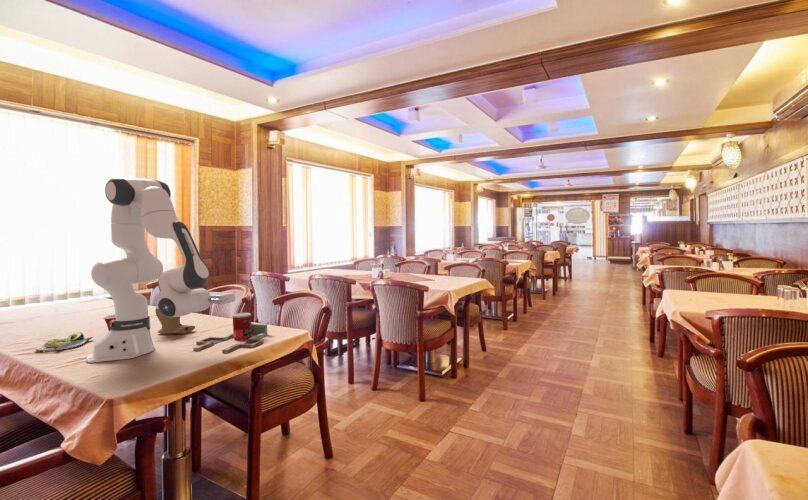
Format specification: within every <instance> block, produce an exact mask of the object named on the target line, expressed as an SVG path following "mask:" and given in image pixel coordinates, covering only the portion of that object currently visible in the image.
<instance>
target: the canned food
mask: <svg viewBox="0 0 808 500" xmlns="http://www.w3.org/2000/svg"><path fill="white" fill-rule="evenodd" d="M252 324H253V323H252V313H251V312H239V313H234V314H233V315H232V328H233V329H232V330H233V332H232V333H233V334H234V337H233V339H234V341H246V340H247V339H249V338H251V337H253V335H252Z"/></svg>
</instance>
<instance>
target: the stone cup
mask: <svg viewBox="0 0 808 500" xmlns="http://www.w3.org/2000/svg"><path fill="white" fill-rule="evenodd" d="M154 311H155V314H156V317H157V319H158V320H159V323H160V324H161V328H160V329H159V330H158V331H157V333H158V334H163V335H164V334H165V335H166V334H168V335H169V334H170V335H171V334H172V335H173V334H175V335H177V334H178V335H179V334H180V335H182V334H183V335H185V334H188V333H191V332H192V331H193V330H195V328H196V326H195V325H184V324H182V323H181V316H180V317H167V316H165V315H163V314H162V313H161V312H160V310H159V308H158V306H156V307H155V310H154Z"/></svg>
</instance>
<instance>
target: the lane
mask: <svg viewBox="0 0 808 500" xmlns="http://www.w3.org/2000/svg"><path fill="white" fill-rule="evenodd" d="M266 336H268V324H267V323H252V337H251V338H249V339H247V340H245V342H244V343H236V344H233V345H230V346H228V347H225V348H224V349H221V351H222V354H229V353H231V352H232V351H235V350H237V349H240V348H246V349H253V348H255V347H259V345H262V344H264V343H265V341H264V339H262V338H263V337H266ZM231 338H234V334H233V332H231V333H229V334H226V335H224V336H221V337H220V336H219V337H218V336H217V337H216V336H209V337H205V338H203V339H200V340H198V341H195V344H196V345H198V346H195V347H193V352H199V351H202V350H204V349H207V348H210V347H211V346H214V345H215V344H218V343H221V342H224V341H226V340H228V339H231Z"/></svg>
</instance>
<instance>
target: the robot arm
mask: <svg viewBox="0 0 808 500" xmlns="http://www.w3.org/2000/svg"><path fill="white" fill-rule="evenodd" d="M104 193H105V198H106V199H107V200H108V202H109V203H111V204H112V207H111V214H110V216H111V217H110V227H111V231H110V232H111V242H112V244H113V245H114V246H116V247H117V248H119V249H122V250H123V251H124V252H125V255H126V257H121V258H110V259H106V260H102V261H101V260H100V261H98V262H96V263H95V264H94V265H93V267H92V269H91V270H90V271H91V272H90V273H91V274H90V276H91V279H92V281H93V282H94V284H96V285H97V286H98V287H100V288H102V289H104V290H105V291H106V292H107V293H108V294H109V296H110V297H111V299H112V302H113V306H114V314H115V316H116V320H111V321H110V329H111V330H110V331H109V330H108V332H106V333H105V334H104V335H102V336H101V337H100V338H98V339H97V340H96V342H95V343H94V345H93V350H92V352H91V353H90V354H88V355H87V356H86V362H87V363H89V364H92V363H101V362H110V361H117V360H118V361H119V360H120V361H121V360H127V359H134V358H137V357H139V356H143V355H146V354H149V353H151V352H153V351H155V349H156V348H155V344H154V342H153V339H152V336H151V335H152V334H151V318H150V315H149V304H148V299H147V297H146V296H145V295H144V294H142V293H139V292H136V291H135V289H134V287H133V285H137V284H144V283H145V284H146V283H151V282H152V281H156V280H157V286H158V289H159V292H160V298H159V300H158V302H157V307H158V308H159V310H160V312H161V313H162V314H163V315H165V316H167V317H180V318H181V317H184V316H188V315H190V314H192V313H193V314H195V313H199V312H202V311H206V310H207V309H209V308H210V306H211V304H213V305H223V304H229V303H233V302H235V301H236V294H235V292H222V291H221V292H220V291H208V290H207V289H205V288H203V287H205V286H206V285H207V283H208V281H209V279H210V270H209V268H208V266H207V265H206V263H205V262H204V260H203V257H202V256H201V254H200V252H199V250H198V247H197V245H196V243H195V241H194V238H193V236H192V234H191V232H190V229H189V228H188V227H187V225H186V224H185V223H184V222H181V221H180V220H179V219H178V216H177V214H176V210H175V207H174V205H173V202H172V200H171V199H172V198H171V195H172V194H171V189H170V187H169V185H168V184H167V183H166V182H163V181H160V180H152V179H149V178H148V179H147V178H141V177H138V178H135V177H125V178H124V177H120V176H119V177H113V178H110V179H108V181H107V183H106V184H105V187H104ZM145 232H147V233H148V234H149V235H151V236H153V237H155V238H158V239H171V240H173V241H174V242H175V244H176V245H177V247H178V250H179V252H180V255H181V256H182V260H183V263H182V265H179V266H176V267H173V268H171V269H167V270H166V271H164V266H163V263H162V262H161V260H160V259H159V258H158V257H156V256H154V254H152V252H151V251H150V249H149V248H148V247H149V246H148V245H147V241H146V233H145Z"/></svg>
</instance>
